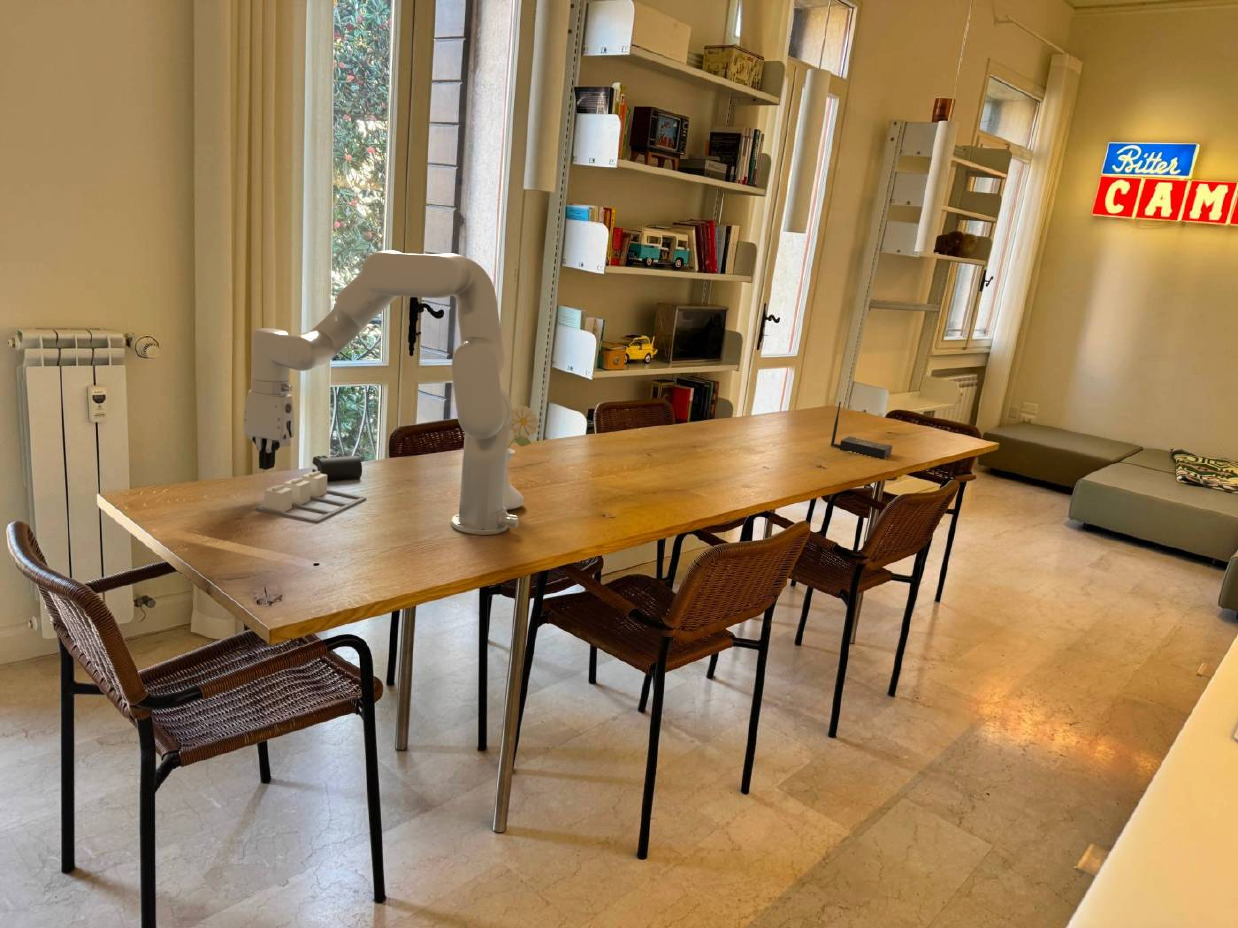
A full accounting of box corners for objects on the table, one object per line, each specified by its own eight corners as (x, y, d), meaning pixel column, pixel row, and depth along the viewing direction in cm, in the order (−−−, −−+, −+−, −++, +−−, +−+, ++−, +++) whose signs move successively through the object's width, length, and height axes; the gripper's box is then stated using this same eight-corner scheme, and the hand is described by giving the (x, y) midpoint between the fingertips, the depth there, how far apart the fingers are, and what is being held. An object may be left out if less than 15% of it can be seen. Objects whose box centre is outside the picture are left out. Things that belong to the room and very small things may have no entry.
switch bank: (368, 505, 199) (368, 497, 198) (319, 529, 181) (319, 521, 181) (291, 489, 204) (291, 482, 203) (236, 511, 186) (236, 503, 185)
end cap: (322, 489, 206) (322, 462, 205) (310, 481, 212) (311, 454, 210) (362, 485, 213) (363, 458, 211) (349, 477, 218) (350, 451, 216)
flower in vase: (479, 513, 202) (486, 408, 196) (473, 498, 213) (481, 397, 206) (534, 514, 206) (543, 411, 200) (526, 499, 217) (535, 401, 210)
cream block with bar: (326, 493, 200) (327, 472, 199) (316, 497, 196) (317, 476, 195) (311, 490, 201) (311, 469, 200) (301, 494, 197) (301, 473, 196)
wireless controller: (891, 455, 316) (900, 409, 312) (882, 461, 305) (891, 413, 300) (838, 443, 326) (846, 398, 321) (826, 449, 314) (835, 402, 310)
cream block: (291, 508, 188) (292, 486, 186) (280, 513, 184) (281, 490, 183) (275, 504, 189) (275, 482, 187) (264, 509, 185) (264, 487, 184)
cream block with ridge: (310, 500, 194) (310, 479, 192) (299, 505, 190) (300, 483, 189) (294, 497, 195) (294, 475, 193) (283, 501, 191) (284, 480, 190)
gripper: (310, 390, 190) (306, 471, 194) (251, 378, 193) (248, 457, 198) (289, 395, 183) (285, 478, 187) (228, 382, 186) (226, 464, 191)
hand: (266, 467), depth 192 cm, fingers closed
